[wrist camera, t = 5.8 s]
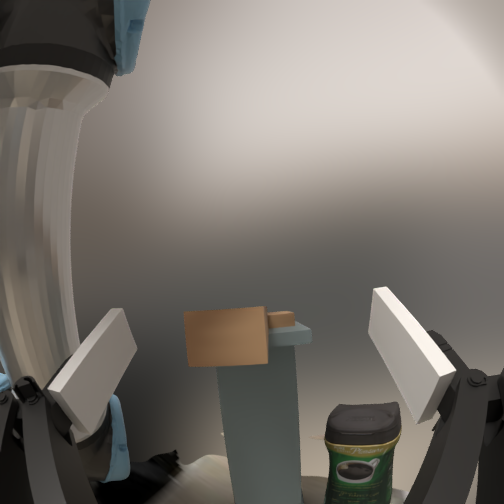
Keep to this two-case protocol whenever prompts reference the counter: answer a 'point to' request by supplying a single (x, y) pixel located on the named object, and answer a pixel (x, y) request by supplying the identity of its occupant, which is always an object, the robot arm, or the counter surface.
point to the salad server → (231, 335)
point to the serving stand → (264, 422)
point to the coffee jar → (361, 452)
